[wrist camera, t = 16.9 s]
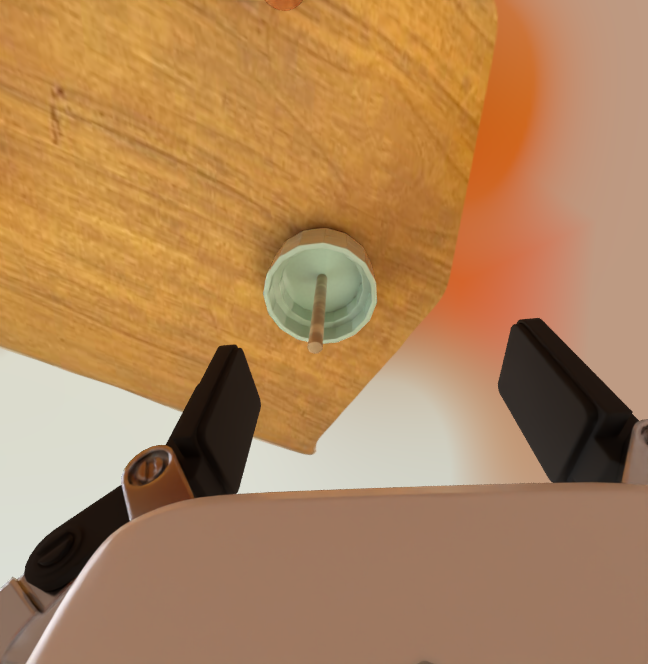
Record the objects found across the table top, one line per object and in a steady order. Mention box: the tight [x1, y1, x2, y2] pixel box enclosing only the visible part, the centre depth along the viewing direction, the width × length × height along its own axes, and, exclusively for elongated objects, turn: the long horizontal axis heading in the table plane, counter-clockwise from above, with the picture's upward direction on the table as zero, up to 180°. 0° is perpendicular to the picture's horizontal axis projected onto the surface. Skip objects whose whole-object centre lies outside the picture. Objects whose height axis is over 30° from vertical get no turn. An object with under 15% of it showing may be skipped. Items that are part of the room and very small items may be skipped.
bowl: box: [263, 228, 377, 344], centre depth 40 cm, size 13×13×6 cm
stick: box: [308, 274, 327, 353], centre depth 36 cm, size 1×1×15 cm
